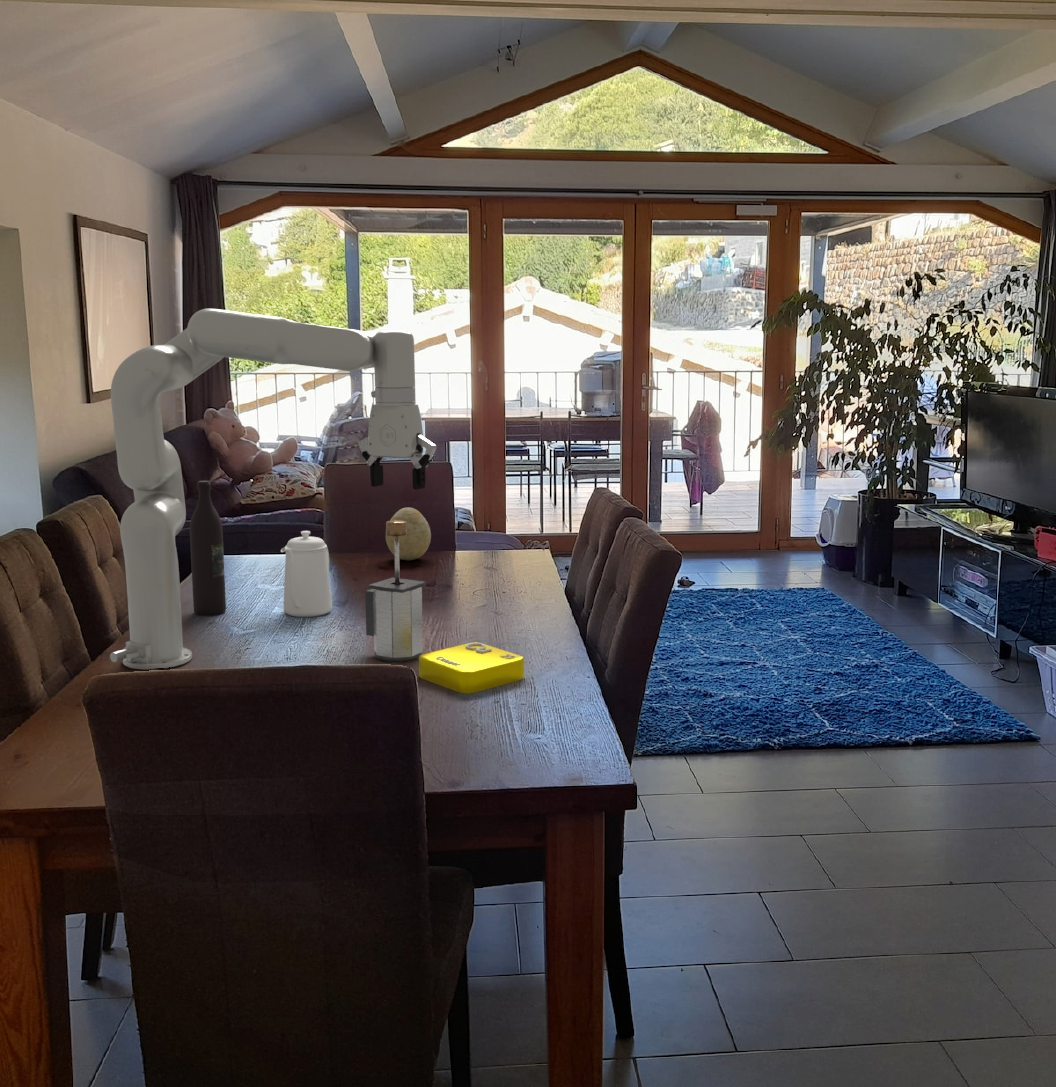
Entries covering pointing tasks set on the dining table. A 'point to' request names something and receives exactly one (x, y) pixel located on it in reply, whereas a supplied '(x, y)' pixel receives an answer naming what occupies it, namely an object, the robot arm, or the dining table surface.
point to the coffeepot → (306, 577)
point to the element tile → (471, 667)
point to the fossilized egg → (411, 534)
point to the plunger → (396, 541)
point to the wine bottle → (207, 556)
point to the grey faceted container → (395, 619)
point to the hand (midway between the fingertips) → (397, 487)
